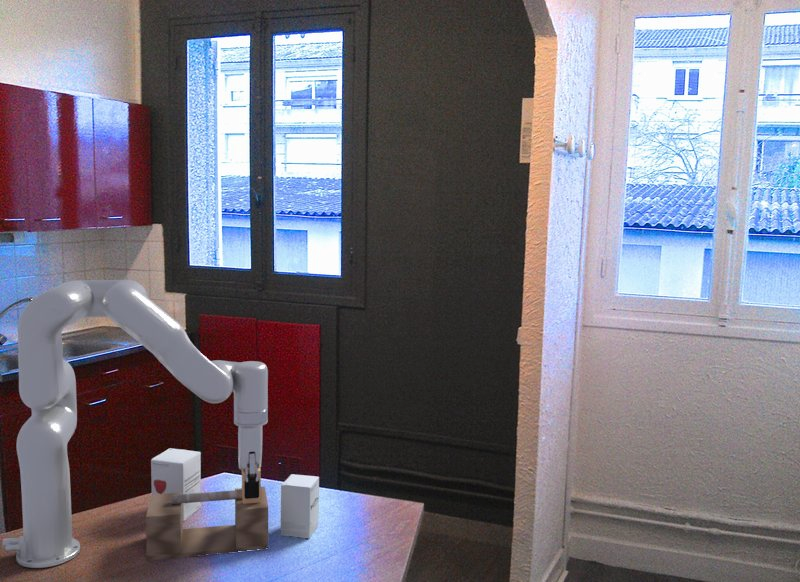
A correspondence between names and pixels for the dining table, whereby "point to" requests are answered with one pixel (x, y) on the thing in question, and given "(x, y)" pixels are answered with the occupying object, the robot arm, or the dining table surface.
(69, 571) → the dining table surface
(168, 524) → the rod slider mechanism
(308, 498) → the supplement box
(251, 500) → the cord clip
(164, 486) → the supplement box
